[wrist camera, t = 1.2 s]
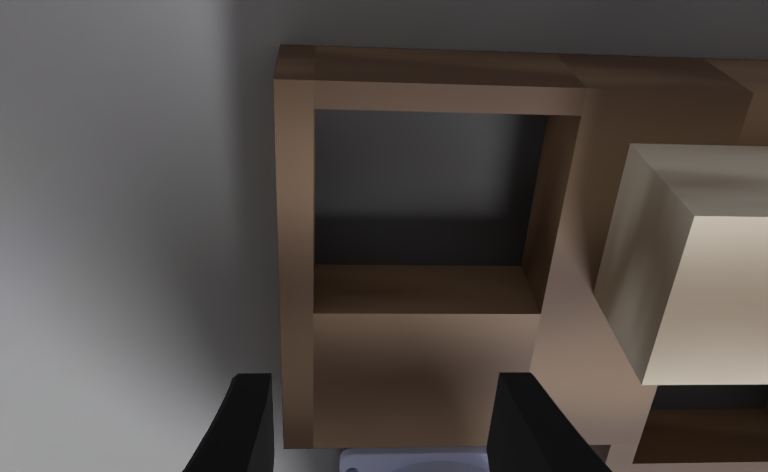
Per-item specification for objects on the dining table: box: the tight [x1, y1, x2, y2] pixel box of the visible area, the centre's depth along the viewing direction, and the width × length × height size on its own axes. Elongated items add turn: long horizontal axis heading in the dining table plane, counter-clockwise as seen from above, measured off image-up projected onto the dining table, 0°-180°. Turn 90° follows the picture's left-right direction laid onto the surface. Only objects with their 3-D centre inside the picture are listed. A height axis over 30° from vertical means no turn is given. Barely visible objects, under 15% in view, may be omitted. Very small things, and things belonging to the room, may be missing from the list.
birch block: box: [593, 143, 768, 385], centre depth 19 cm, size 5×5×4 cm
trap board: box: [273, 45, 768, 472], centre depth 23 cm, size 15×26×5 cm, turn 87°
